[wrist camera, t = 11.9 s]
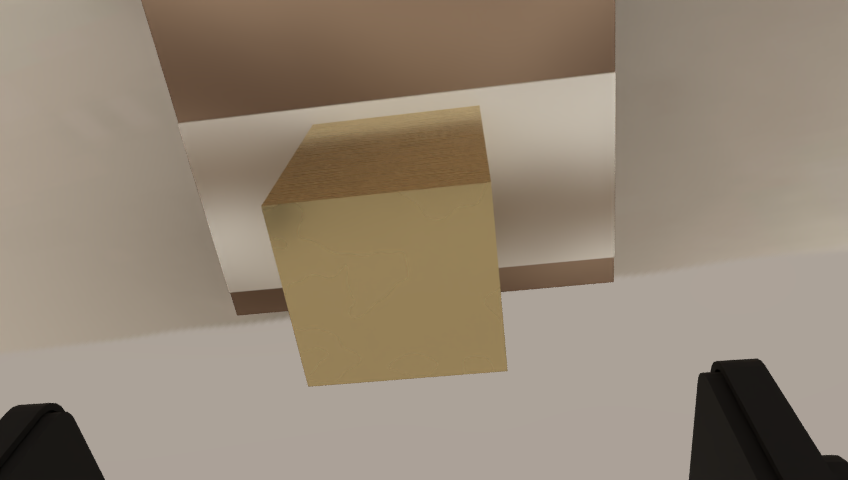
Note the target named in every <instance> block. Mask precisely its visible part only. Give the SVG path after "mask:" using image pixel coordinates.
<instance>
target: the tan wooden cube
mask: <svg viewBox="0 0 848 480" xmlns="http://www.w3.org/2000/svg"><path fill="white" fill-rule="evenodd" d="M261 208H262V212H263V216H264V219H265V223H266V227H267V231H268V235H269V239H270V242H271V246H272V250H273V254H274V258H275V261H276V265H277V269H278V273H279V277H280V280H281V284H282V288H283V292H284V296H285V300H286V303H287V307H288V311H289V315H290V319H291V322H292V326H293V330H294V334H295V337H296V341H297V345H298V349H299V353H300V357H301V360H302V364H303V368H304V372H305V376H306V380H307V383H308V386H323V385H335V384H347V383H361V382H374V381H387V380H398V379H412V378H425V377H437V376H450V375H463V374H476V373H488V372H501V371H507V360H506V348H505V337H504V327H503V314H502V302H501V291H500V279H499V267H498V256H497V244H496V233H495V221H494V210H493V198H492V187H491V178H490V171H489V165H488V158H487V152H486V145H485V138H484V132H483V125H482V119H481V112H480V106H479V105H478V106H470V107H461V108H452V109H443V110H435V111H426V112H417V113H409V114H400V115H391V116H383V117H374V118H365V119H357V120H348V121H339V122H331V123H322V124H313V125H312V127H311V128H310V130H309V131H308V133H307V134H306V136H305V138H304V139H303V141H302V142H301V144H300V145H299V147H298V149H297V150H296V152H295V153H294V155H293V157H292V158H291V160H290V161H289V163H288V164H287V166H286V168H285V169H284V171H283V172H282V174H281V175H280V177H279V179H278V180H277V182H276V183H275V185H274V186H273V188H272V190H271V191H270V193H269V194H268V196H267V197H266V199H265V201H264V202H263V204H262V205H261Z"/></svg>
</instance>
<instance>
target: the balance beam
mask: <svg viewBox="0 0 848 480" xmlns="http://www.w3.org/2000/svg"><path fill="white" fill-rule="evenodd" d="M141 1H142V5H143V8H144V11H145V14H146V18H147V21H148V24H149V27H150V31H151V34H152V37H153V41H154V44H155V47H156V50H157V54H158V57H159V60H160V64H161V67H162V70H163V73H164V77H165V80H166V83H167V87H168V90H169V93H170V96H171V100H172V103H173V106H174V110H175V113H176V116H177V119H178V128H179V131H180V134H181V137H182V141H183V144H184V147H185V151H186V154H187V157H188V160H189V164H190V167H191V170H192V173H193V177H194V180H195V183H196V187H197V190H198V193H199V196H200V200H201V203H202V206H203V209H204V213H205V216H206V219H207V222H208V226H209V229H210V232H211V236H212V239H213V242H214V245H215V249H216V252H217V255H218V258H219V262H220V265H221V268H222V272H223V275H224V278H225V281H226V285H227V288H228V291H229V293H231V297H232V300H233V303H234V306H235V310H236V313H237V315H248V314H259V313H270V312H281V311H288V307H287V303H286V300H285V296H284V292H283V288H282V284H281V280H280V277H279V273H278V269H277V265H276V261H275V258H274V254H273V250H272V246H271V242H270V239H269V235H268V231H267V227H266V223H265V219H264V216H263V212H262V208H261V205H262V204H263V202H264V201H265V199H266V197H267V196H268V194H269V193H270V191H271V190H272V188H273V186H274V185H275V183H276V182H277V180H278V179H279V177H280V175H281V174H282V172H283V171H284V169H285V168H286V166H287V164H288V163H289V161H290V160H291V158H292V157H293V155H294V153H295V152H296V150H297V149H298V147H299V145H300V144H301V142H302V141H303V139H304V138H305V136H306V134H307V133H308V131H309V130H310V128H311V127H312V125H313V124H322V123H331V122H339V121H348V120H357V119H365V118H374V117H383V116H391V115H400V114H409V113H417V112H426V111H435V110H443V109H452V108H461V107H470V106H478V105H479V106H480V112H481V119H482V125H483V132H484V138H485V145H486V152H487V158H488V165H489V171H490V178H491V187H492V198H493V210H494V221H495V233H496V244H497V256H498V267H499V279H500V291H501V292H506V291H517V290H529V289H540V288H551V287H562V286H574V285H585V284H596V283H607V282H614V255H615V90H616V72H615V0H141Z"/></svg>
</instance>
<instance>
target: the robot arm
mask: <svg viewBox="0 0 848 480" xmlns="http://www.w3.org/2000/svg"><path fill="white" fill-rule="evenodd" d="M0 480H105V479H104V477H103V475H102V473H101V471H100V469H99V467H98V465H97V463H96V461H95V459H94V457H93V455H92V453H91V451H90V449H89V447H88V445H87V443H86V441H85V439H84V437H83V435H82V433H81V431H80V429H79V427H78V425H77V423H76V421H75V419H74V418H73V416H72V415H71V414H70V413H68V412H65V411H64V409H63V408H62V407H61V406H60V405H58V404H56V403H43V404H27V405H18V406H15V407H13V408H11V409H10V410H9V411H8V412H7V413H6V414H5V415H4V416H3V417H2V418H1V420H0ZM689 480H848V462H847V461H846V460H844V459H842V458H841V457H840V456H838V455H821V453H820V452H819V450H818V449H817V447H816V446H815V444H814V442H813V441H812V439H811V438H810V436H809V434H808V433H807V431H806V430H805V429H804V427H803V425H802V423H801V422H800V420H799V419H798V417H797V415H796V414H795V412H794V411H793V409H792V407H791V406H790V404H789V403H788V401H787V400H786V398H785V396H784V395H783V393H782V392H781V390H780V388H779V387H778V385H777V384H776V382H775V381H774V379H773V378H772V376H771V374H770V373H769V371H768V370H767V368H766V367H765V365H764V364H763V363H762V361H761V360H759V359H744V360H727V361H716V362H714V363H713V365H712V367H711V372H707V373H700V375H699V377H698V384H697V396H696V407H695V418H694V429H693V440H692V451H691V463H690V474H689Z"/></svg>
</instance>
